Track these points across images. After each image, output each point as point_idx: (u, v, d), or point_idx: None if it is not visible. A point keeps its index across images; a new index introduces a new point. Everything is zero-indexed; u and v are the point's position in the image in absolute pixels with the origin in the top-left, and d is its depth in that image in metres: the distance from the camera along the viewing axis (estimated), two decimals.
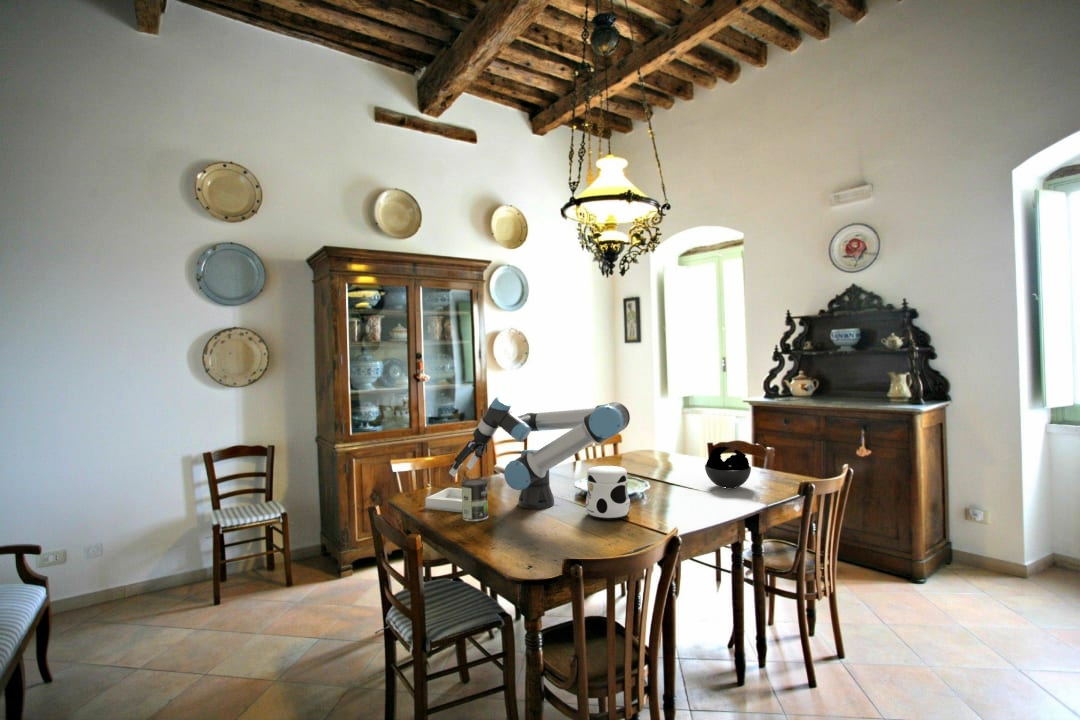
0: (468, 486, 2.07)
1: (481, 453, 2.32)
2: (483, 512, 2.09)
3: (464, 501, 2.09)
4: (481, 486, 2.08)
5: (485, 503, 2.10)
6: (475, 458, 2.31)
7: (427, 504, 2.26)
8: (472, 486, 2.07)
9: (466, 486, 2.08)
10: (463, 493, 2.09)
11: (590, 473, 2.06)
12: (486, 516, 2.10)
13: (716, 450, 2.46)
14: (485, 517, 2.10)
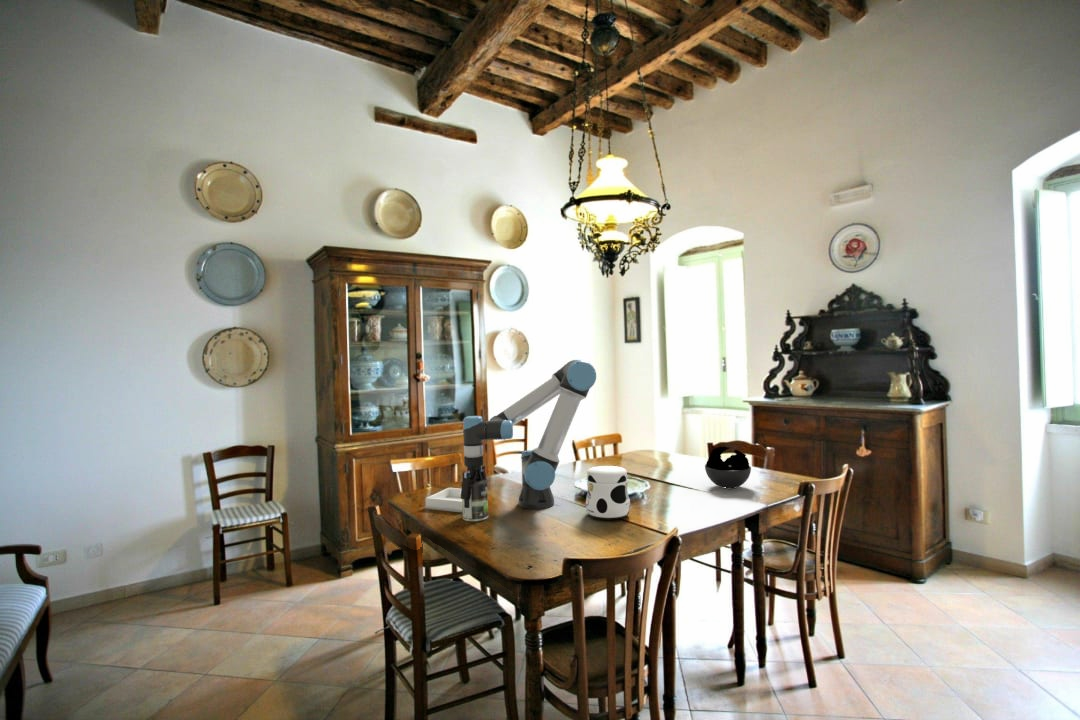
0: None
1: None
2: (483, 512, 2.09)
3: None
4: (481, 486, 2.08)
5: (485, 503, 2.10)
6: None
7: (427, 504, 2.26)
8: (472, 486, 2.07)
9: None
10: None
11: (590, 473, 2.06)
12: (486, 516, 2.10)
13: (716, 450, 2.46)
14: (485, 517, 2.10)
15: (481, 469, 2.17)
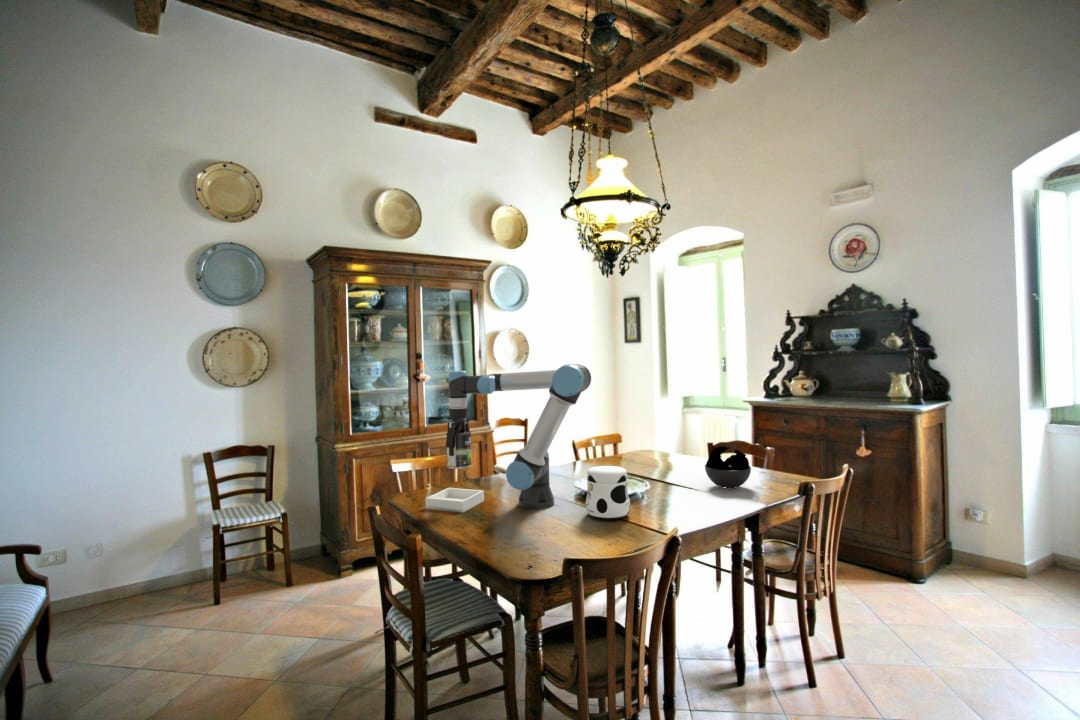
0: None
1: None
2: (466, 460, 2.21)
3: None
4: (465, 436, 2.21)
5: (469, 452, 2.22)
6: None
7: (427, 504, 2.26)
8: (456, 435, 2.19)
9: None
10: None
11: (590, 473, 2.06)
12: (469, 464, 2.23)
13: (716, 450, 2.46)
14: (468, 465, 2.22)
15: (465, 421, 2.29)
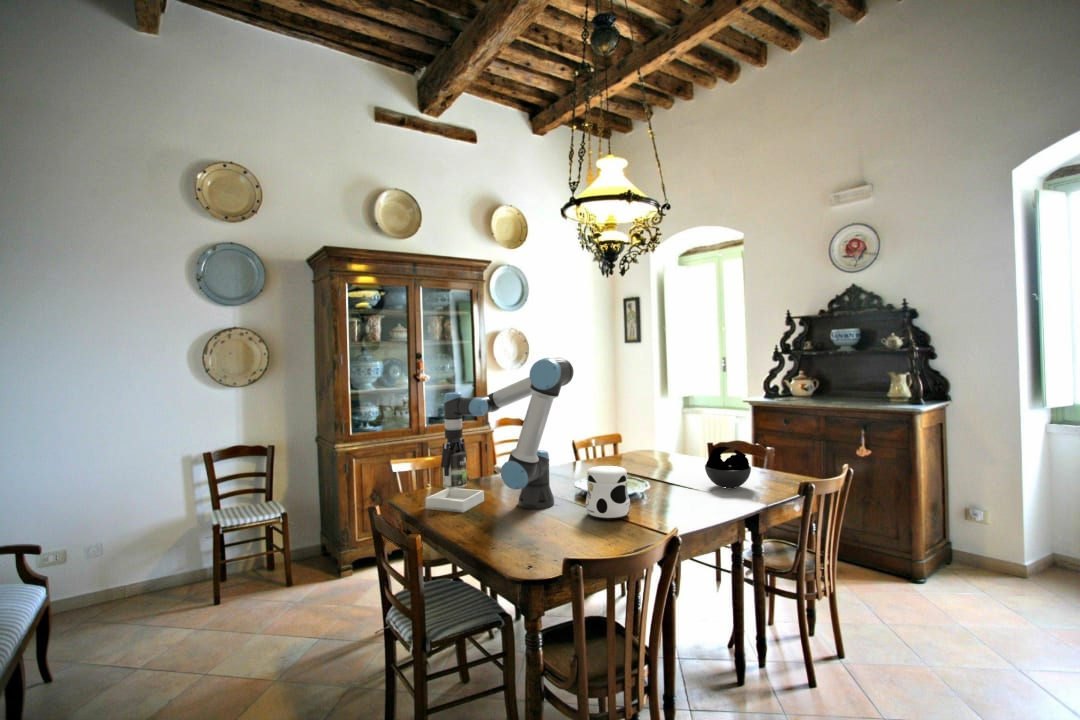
0: None
1: None
2: (461, 480, 2.27)
3: None
4: (460, 456, 2.27)
5: (463, 472, 2.28)
6: None
7: (427, 504, 2.26)
8: (451, 456, 2.25)
9: None
10: None
11: (590, 473, 2.06)
12: (464, 484, 2.29)
13: (716, 450, 2.46)
14: (463, 485, 2.28)
15: (461, 442, 2.35)
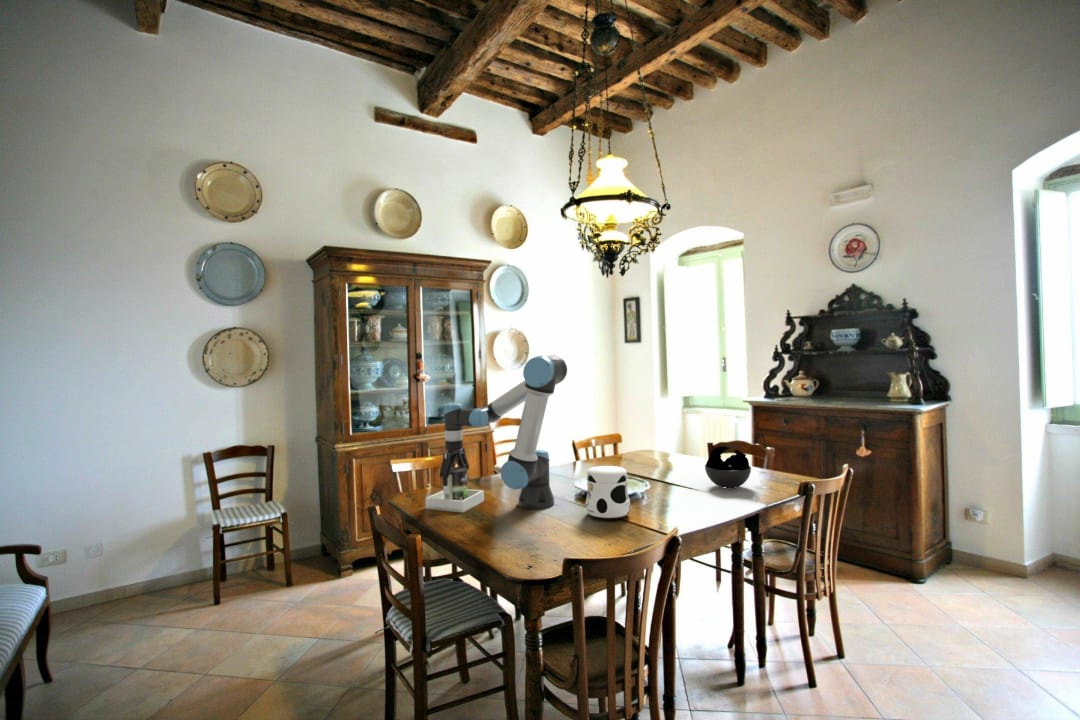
0: None
1: (466, 466, 2.38)
2: (462, 496, 2.27)
3: None
4: (461, 473, 2.27)
5: (465, 489, 2.29)
6: None
7: (427, 504, 2.26)
8: (453, 473, 2.26)
9: None
10: None
11: (590, 473, 2.06)
12: None
13: (716, 450, 2.46)
14: None
15: (461, 451, 2.35)
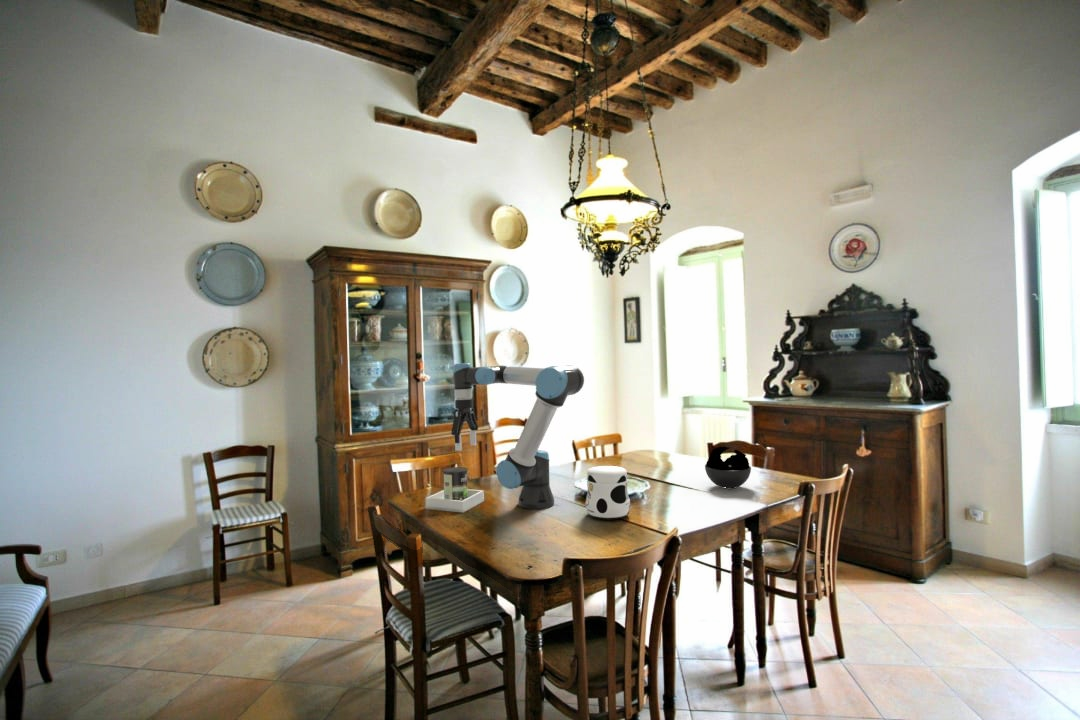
0: (449, 473, 2.26)
1: (476, 426, 2.40)
2: (462, 496, 2.27)
3: (445, 487, 2.28)
4: (461, 473, 2.27)
5: (465, 489, 2.29)
6: (473, 432, 2.38)
7: (427, 504, 2.26)
8: (452, 473, 2.26)
9: (447, 473, 2.27)
10: (444, 479, 2.28)
11: (590, 473, 2.06)
12: None
13: (716, 450, 2.46)
14: None
15: (471, 411, 2.37)
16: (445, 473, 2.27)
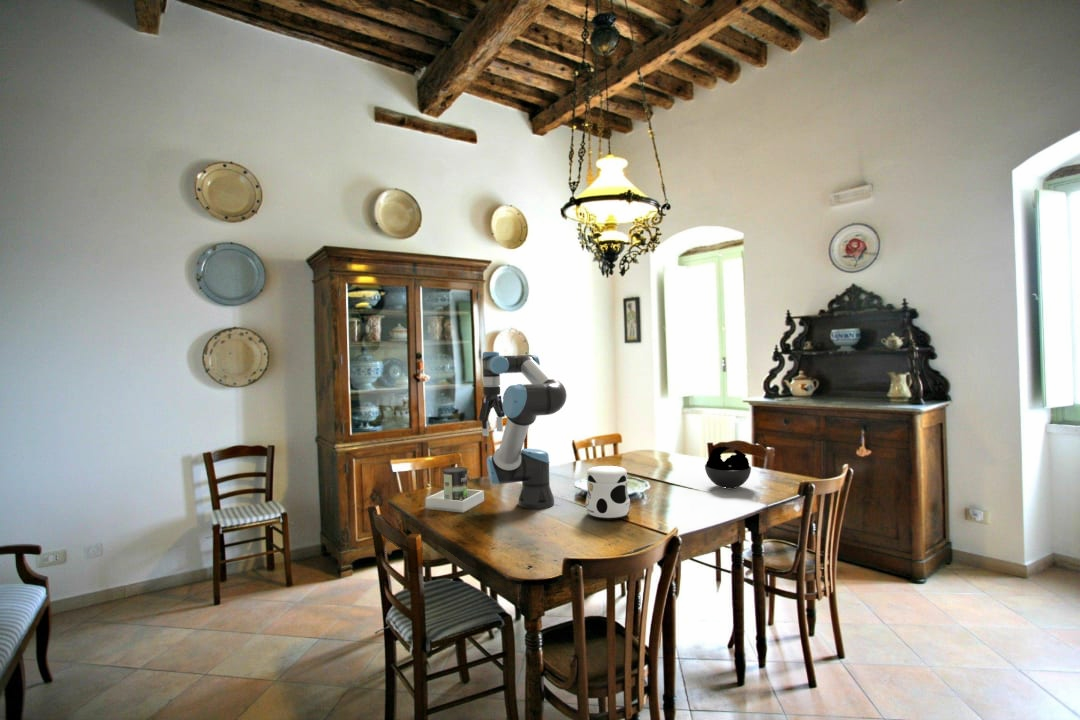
0: (449, 473, 2.26)
1: (502, 412, 2.47)
2: (462, 496, 2.27)
3: (445, 487, 2.28)
4: (461, 473, 2.27)
5: (465, 489, 2.29)
6: (500, 419, 2.46)
7: (427, 504, 2.26)
8: (452, 473, 2.26)
9: (447, 473, 2.27)
10: (444, 479, 2.28)
11: (590, 473, 2.06)
12: None
13: (716, 450, 2.46)
14: None
15: (498, 398, 2.44)
16: (445, 473, 2.27)
